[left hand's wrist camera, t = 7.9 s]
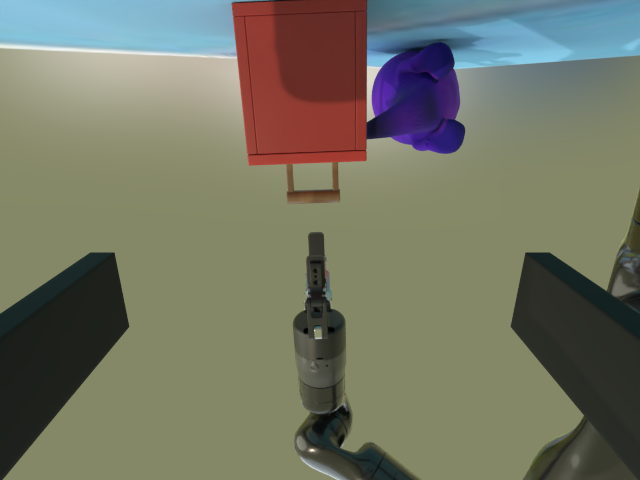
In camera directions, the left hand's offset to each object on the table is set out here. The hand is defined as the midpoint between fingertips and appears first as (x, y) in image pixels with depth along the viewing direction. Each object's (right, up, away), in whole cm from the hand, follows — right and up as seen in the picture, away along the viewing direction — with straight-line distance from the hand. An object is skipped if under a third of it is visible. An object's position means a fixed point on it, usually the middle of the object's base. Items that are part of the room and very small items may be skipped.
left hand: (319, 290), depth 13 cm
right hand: (-1, +1, +38) cm, 38 cm away
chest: (-2, +22, +24) cm, 33 cm away
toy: (+14, +32, +48) cm, 60 cm away
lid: (-1, +12, +28) cm, 31 cm away
